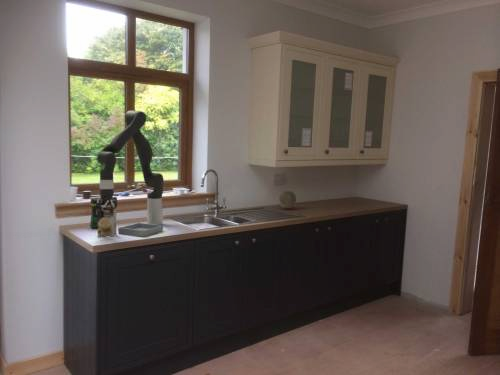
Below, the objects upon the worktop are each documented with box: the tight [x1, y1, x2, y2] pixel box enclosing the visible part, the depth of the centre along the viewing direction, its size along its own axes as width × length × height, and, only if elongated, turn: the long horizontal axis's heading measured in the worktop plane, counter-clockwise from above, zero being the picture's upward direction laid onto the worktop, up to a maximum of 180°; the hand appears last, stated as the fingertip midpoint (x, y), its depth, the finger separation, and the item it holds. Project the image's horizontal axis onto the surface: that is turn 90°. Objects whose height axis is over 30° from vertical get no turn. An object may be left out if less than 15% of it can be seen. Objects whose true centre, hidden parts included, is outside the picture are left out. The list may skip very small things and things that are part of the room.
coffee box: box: [97, 206, 117, 238], centre depth 242 cm, size 9×6×16 cm
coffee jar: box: [89, 196, 101, 229], centre depth 263 cm, size 10×8×19 cm
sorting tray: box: [117, 222, 164, 238], centre depth 253 cm, size 18×18×4 cm
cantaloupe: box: [279, 190, 297, 210], centre depth 358 cm, size 14×14×15 cm
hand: (106, 216), depth 241 cm, fingers closed on coffee box, 8 cm apart
